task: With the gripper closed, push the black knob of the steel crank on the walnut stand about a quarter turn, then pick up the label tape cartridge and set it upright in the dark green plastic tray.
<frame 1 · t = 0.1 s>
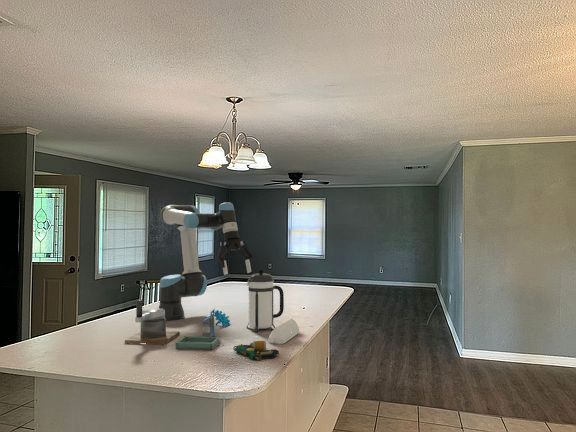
hand: (238, 273, 214), 28 cm above the table, fingers open, 13 cm apart
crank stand: (153, 338, 197), on the table
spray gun: (256, 355, 173), on the table
white faceted wedge: (284, 339, 198), on the table
crank: (148, 309, 192), point 14 cm above the table, hinge at 0.0°
gear: (222, 325, 224), on the table
tray: (198, 345, 185), on the table
label tape cartridge: (208, 337, 200), on the table
coffee press: (262, 329, 216), on the table
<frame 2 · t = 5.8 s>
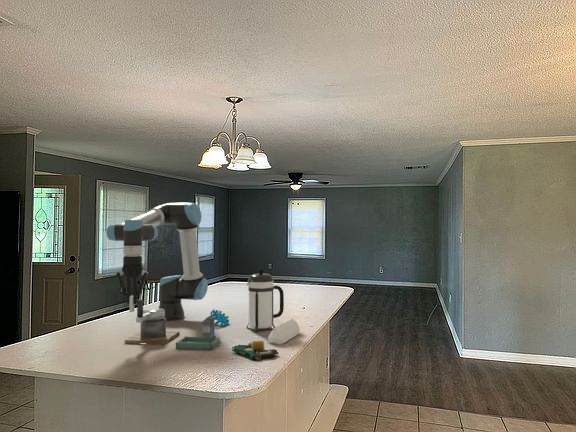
hand: (131, 311, 183), 15 cm above the table, fingers closed
crank: (148, 309, 192), point 14 cm above the table, hinge at 1.4°, touching gripper
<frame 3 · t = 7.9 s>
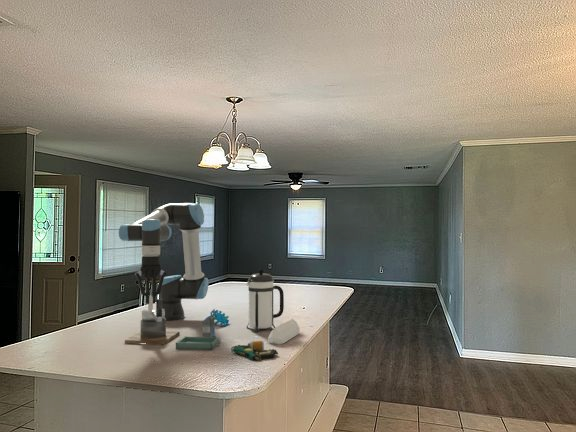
hand: (150, 311, 183), 15 cm above the table, fingers closed
crank: (155, 309, 192), point 14 cm above the table, hinge at 33.4°, touching gripper
everything else where it was.
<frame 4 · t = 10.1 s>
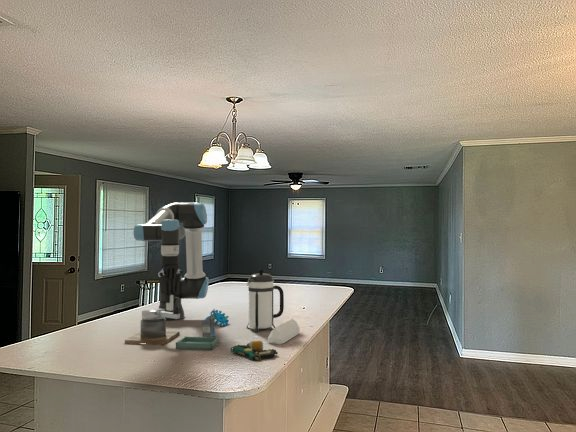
hand: (169, 310, 187), 15 cm above the table, fingers closed
crank: (161, 308, 194), point 14 cm above the table, hinge at 66.4°, touching gripper
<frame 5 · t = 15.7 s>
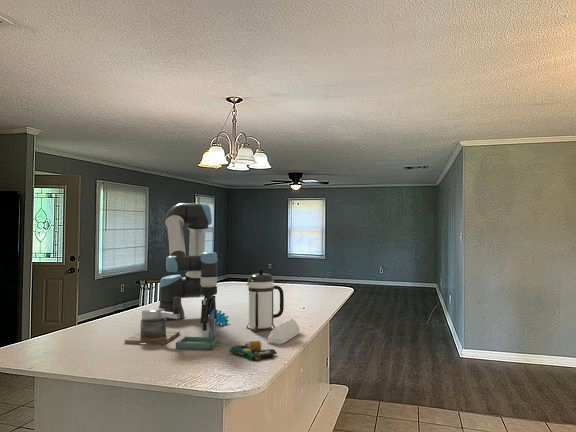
hand: (208, 334, 200), 1 cm above the table, fingers closed on label tape cartridge, 9 cm apart
crank: (161, 308, 194), point 14 cm above the table, hinge at 66.4°
label tape cartridge: (208, 337, 200), on the table, touching gripper
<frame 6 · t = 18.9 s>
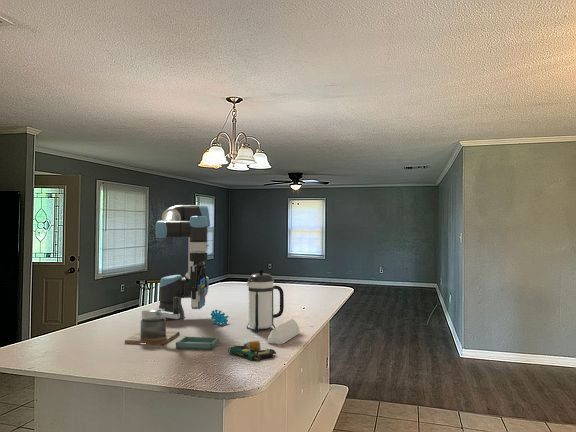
hand: (198, 304, 185), 17 cm above the table, fingers closed on label tape cartridge, 9 cm apart
label tape cartridge: (198, 307, 185), point 16 cm above the table, touching gripper
when the fingers open (4 cm above the table, at t = 22.0 s): label tape cartridge stays where it is, resting on tray.
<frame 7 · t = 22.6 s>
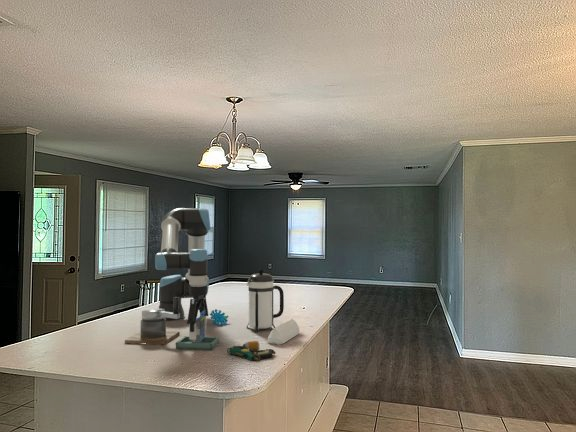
hand: (198, 335, 185), 5 cm above the table, fingers open, 13 cm apart
label tape cartridge: (198, 340, 185), point 2 cm above the table, touching tray
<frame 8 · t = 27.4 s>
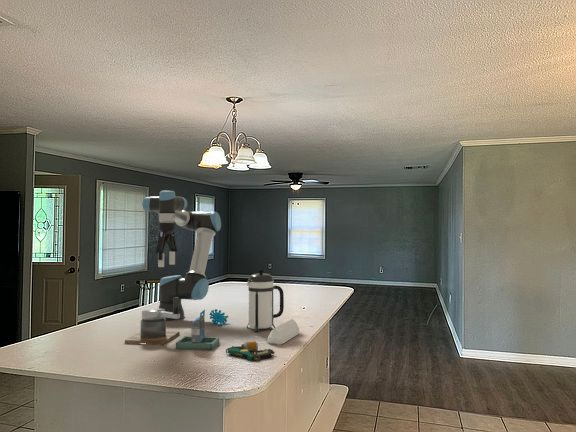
hand: (166, 265, 212), 32 cm above the table, fingers open, 13 cm apart
at the end: crank at +66° (first picture: +0°); label tape cartridge inside the target area on the tray (0.0 cm from its centre), point 2.3 cm above the tray's base; label tape cartridge tilted 0° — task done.
